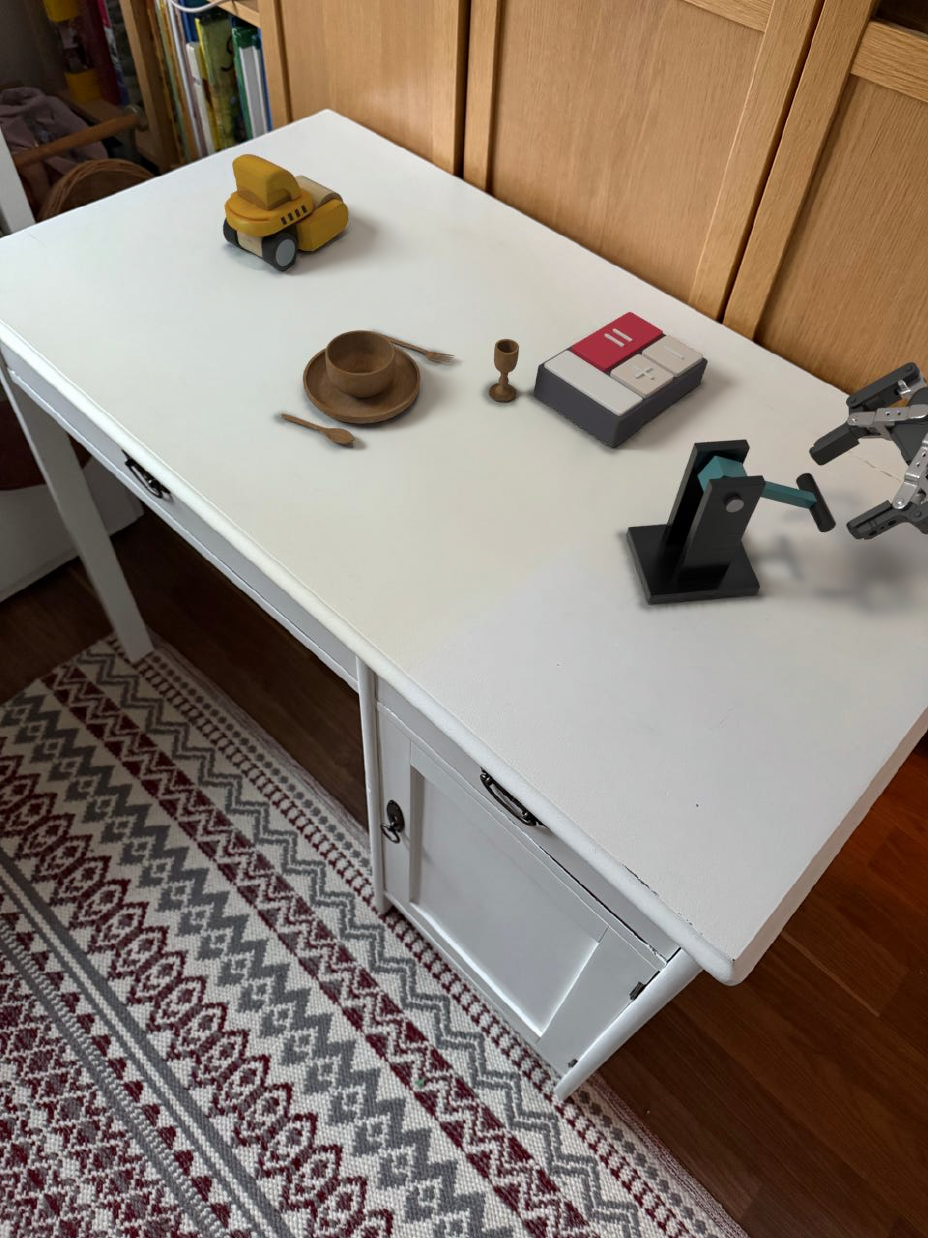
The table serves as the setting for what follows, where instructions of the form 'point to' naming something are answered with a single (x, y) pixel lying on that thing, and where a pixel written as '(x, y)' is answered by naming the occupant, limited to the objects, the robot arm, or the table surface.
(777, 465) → the table surface
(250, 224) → the toy roller
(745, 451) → the bracket
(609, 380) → the calculator
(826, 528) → the lever
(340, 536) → the table surface
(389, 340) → the place setting
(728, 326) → the table surface
